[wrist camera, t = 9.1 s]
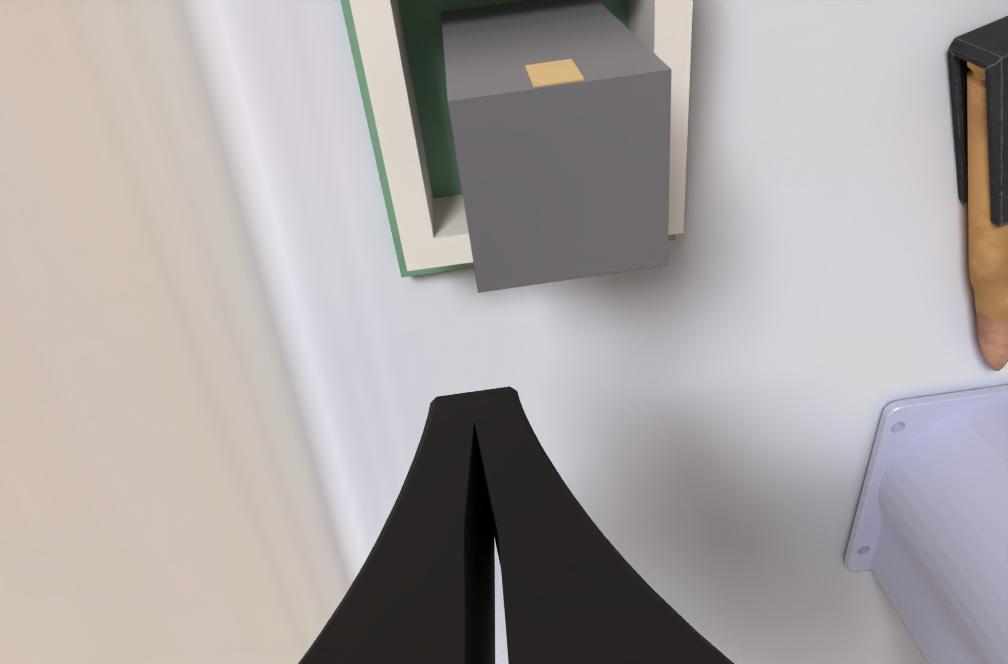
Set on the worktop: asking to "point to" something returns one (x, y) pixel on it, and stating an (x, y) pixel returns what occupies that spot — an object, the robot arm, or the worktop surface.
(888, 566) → the robot arm
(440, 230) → the board
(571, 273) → the plug
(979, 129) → the ammunition clip
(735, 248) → the worktop surface
